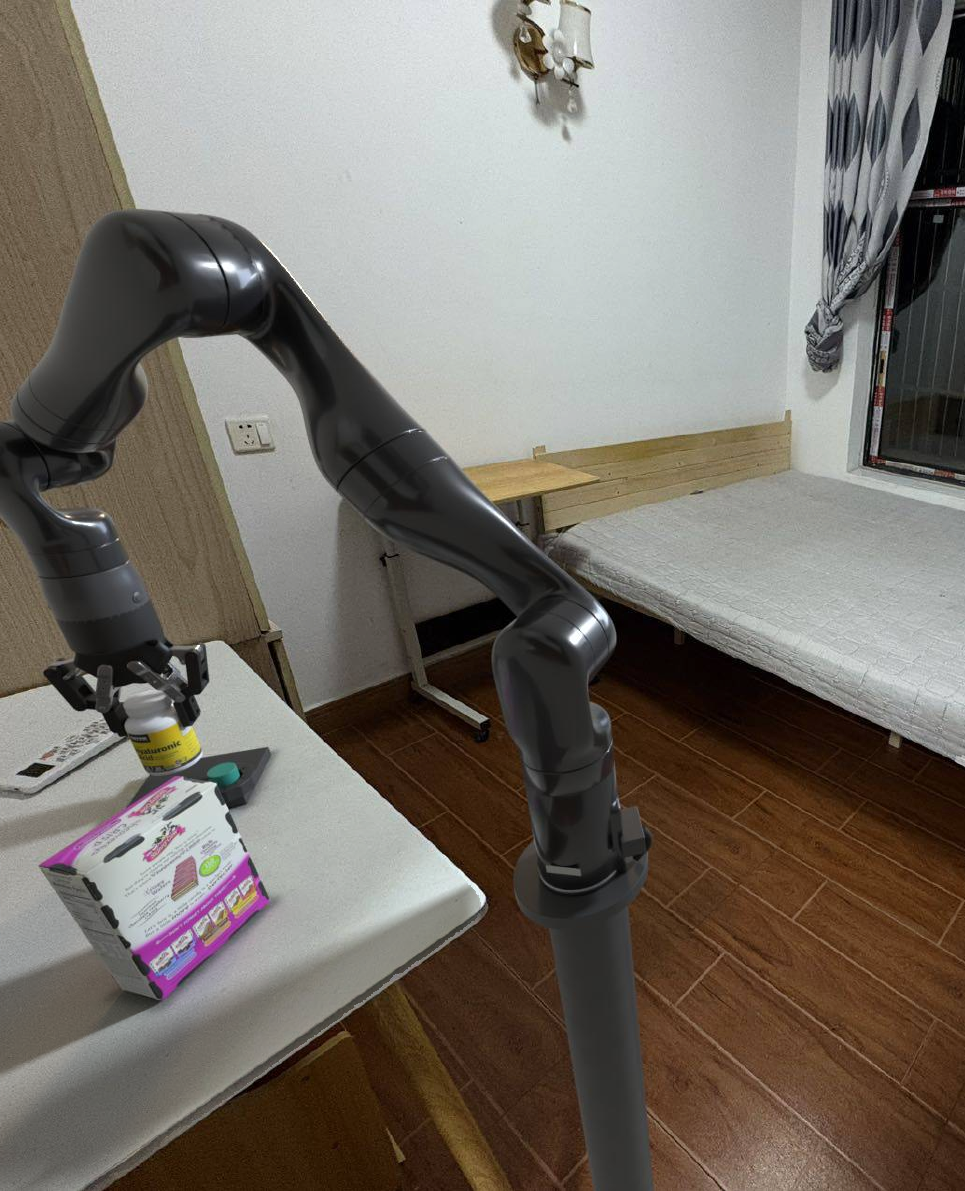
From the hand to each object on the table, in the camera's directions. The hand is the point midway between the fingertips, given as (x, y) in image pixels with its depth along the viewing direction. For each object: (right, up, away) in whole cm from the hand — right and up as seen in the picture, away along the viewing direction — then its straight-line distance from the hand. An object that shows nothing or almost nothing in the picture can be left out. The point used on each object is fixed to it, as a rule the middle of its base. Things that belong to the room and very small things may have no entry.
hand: (159, 727), depth 78 cm
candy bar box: (+19, -19, -15) cm, 30 cm away
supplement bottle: (0, -5, +2) cm, 6 cm away
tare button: (+7, -7, +2) cm, 10 cm away
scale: (+2, -9, +4) cm, 10 cm away
